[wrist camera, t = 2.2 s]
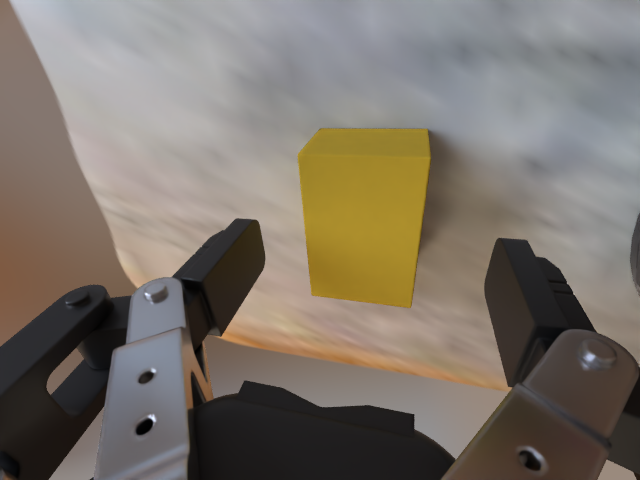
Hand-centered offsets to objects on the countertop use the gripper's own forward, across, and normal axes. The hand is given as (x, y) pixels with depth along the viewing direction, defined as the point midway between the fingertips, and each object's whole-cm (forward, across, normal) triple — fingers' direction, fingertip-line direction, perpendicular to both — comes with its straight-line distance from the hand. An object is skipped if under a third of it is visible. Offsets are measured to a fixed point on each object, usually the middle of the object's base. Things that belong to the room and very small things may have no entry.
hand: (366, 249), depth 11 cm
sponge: (+3, 0, 0) cm, 3 cm away
